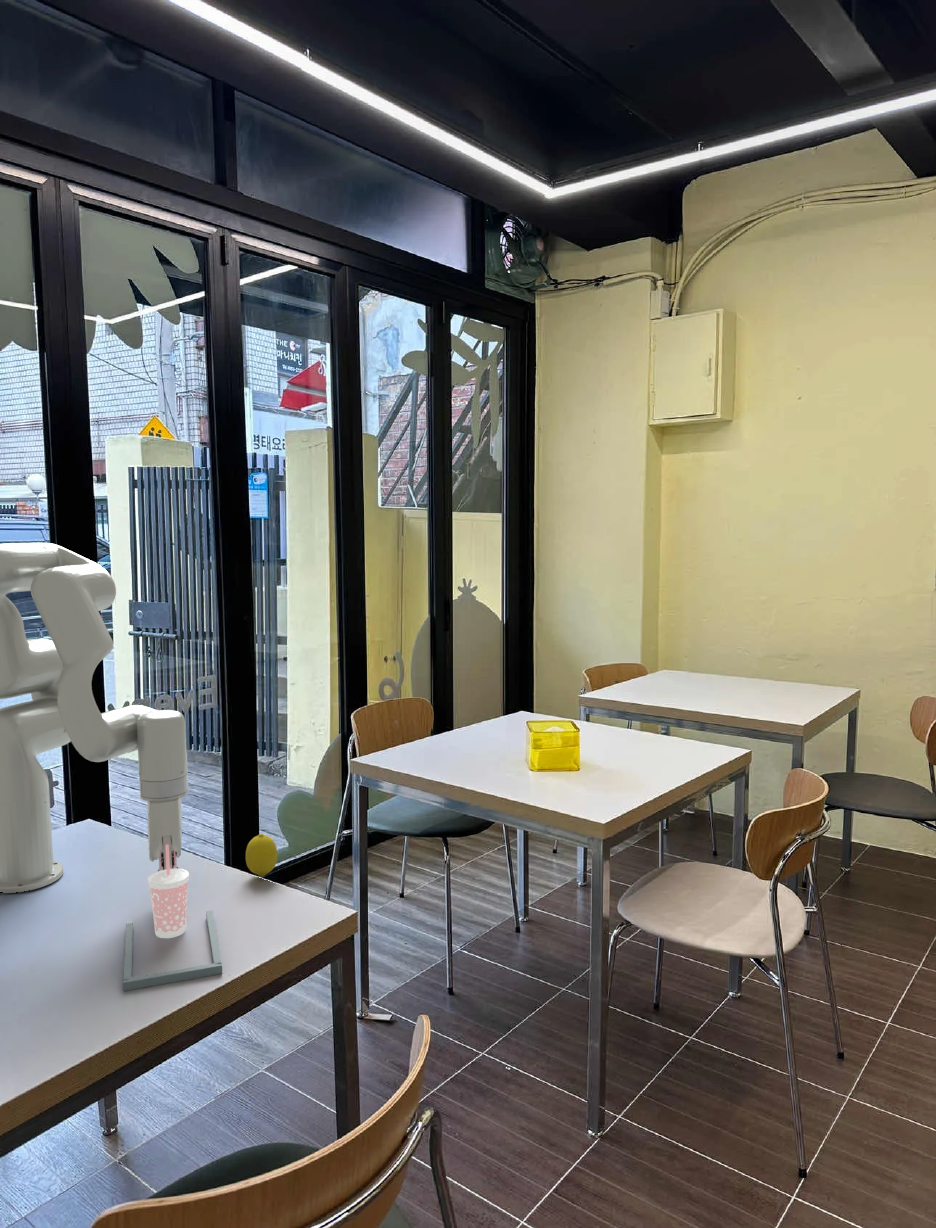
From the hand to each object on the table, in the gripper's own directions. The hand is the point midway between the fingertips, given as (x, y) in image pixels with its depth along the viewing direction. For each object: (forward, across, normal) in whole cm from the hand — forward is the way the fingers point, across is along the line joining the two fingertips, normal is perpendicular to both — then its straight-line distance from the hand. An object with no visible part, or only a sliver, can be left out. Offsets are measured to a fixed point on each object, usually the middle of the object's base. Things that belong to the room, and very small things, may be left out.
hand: (169, 892), depth 144 cm
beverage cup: (+2, +10, 0) cm, 10 cm away
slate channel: (+2, +17, 0) cm, 17 cm away
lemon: (+2, -6, +16) cm, 17 cm away
